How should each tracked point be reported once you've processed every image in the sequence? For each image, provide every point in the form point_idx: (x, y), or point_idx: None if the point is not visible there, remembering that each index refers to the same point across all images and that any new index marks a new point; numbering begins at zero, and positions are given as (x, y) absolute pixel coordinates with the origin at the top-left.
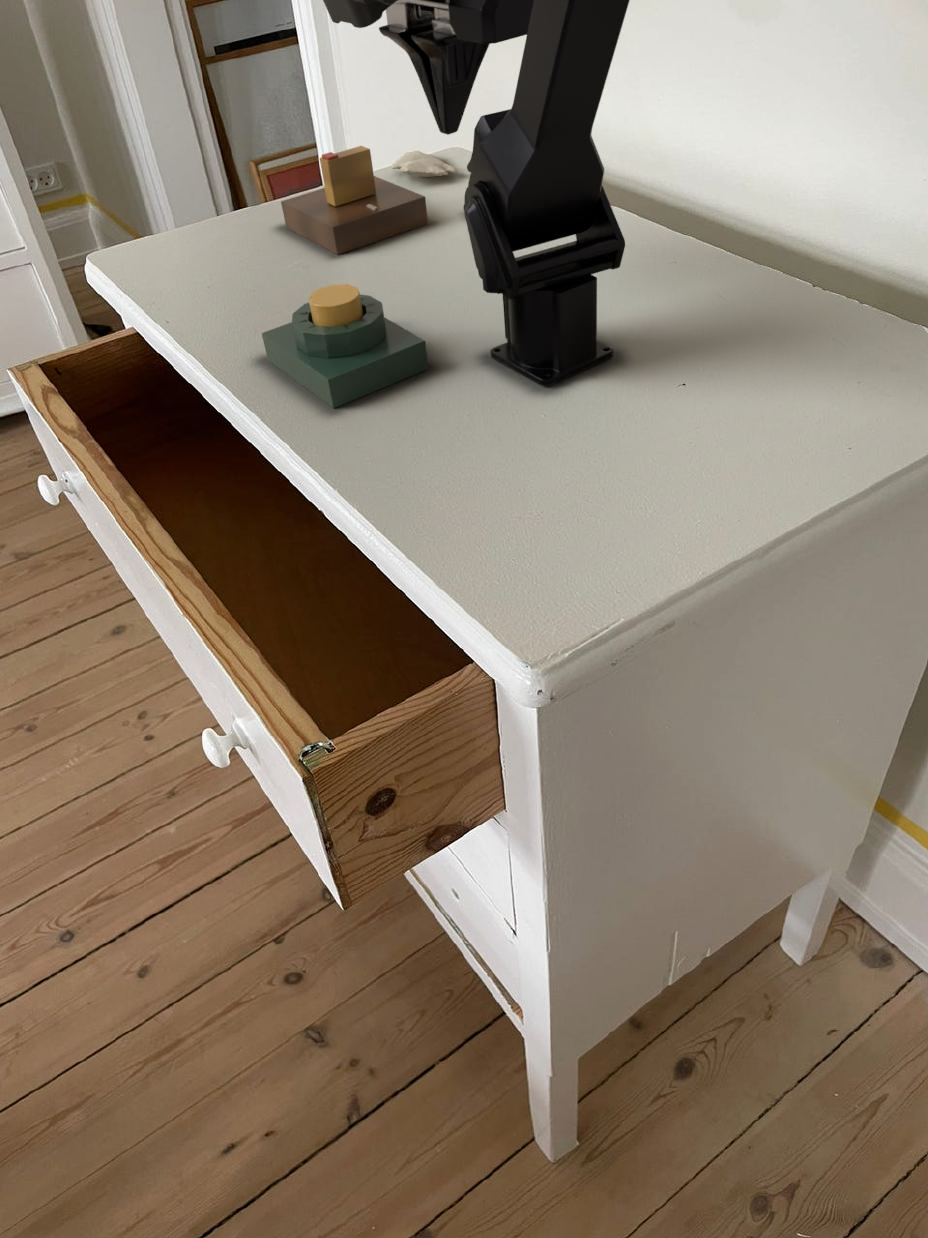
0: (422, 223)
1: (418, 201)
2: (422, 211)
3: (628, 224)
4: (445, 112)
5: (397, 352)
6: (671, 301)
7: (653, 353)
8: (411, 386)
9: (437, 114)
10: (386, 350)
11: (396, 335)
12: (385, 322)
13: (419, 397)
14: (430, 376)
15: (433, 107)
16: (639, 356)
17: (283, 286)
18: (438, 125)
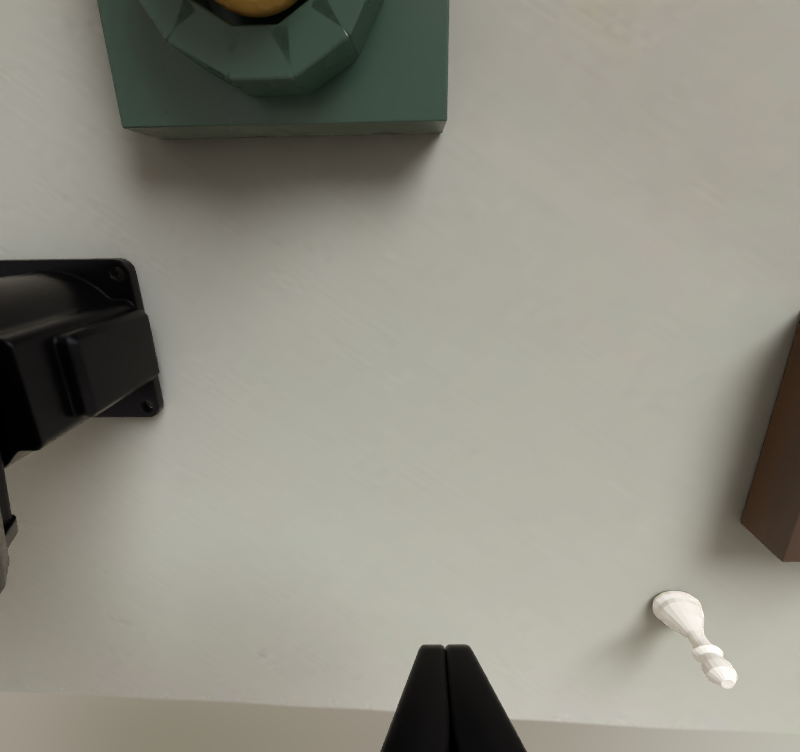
0: (745, 513)
1: (782, 541)
2: (762, 532)
3: None
4: (386, 737)
5: (104, 35)
6: (150, 575)
7: None
8: None
9: (460, 713)
10: (125, 16)
11: (186, 87)
12: (269, 108)
13: (59, 48)
14: None
15: (490, 745)
16: None
17: (787, 107)
18: (466, 664)
